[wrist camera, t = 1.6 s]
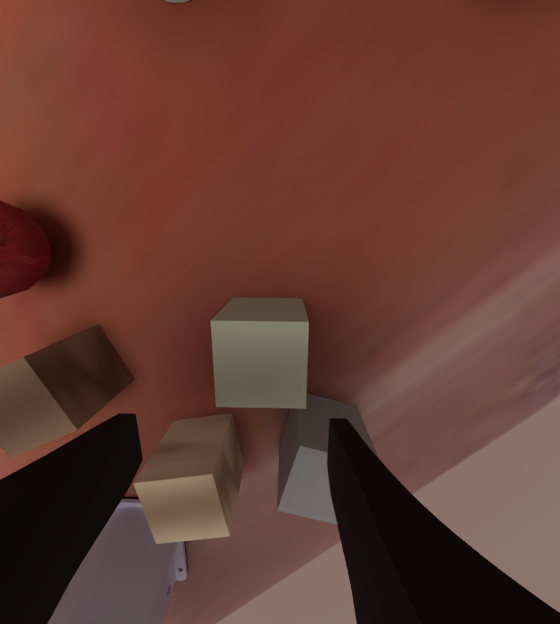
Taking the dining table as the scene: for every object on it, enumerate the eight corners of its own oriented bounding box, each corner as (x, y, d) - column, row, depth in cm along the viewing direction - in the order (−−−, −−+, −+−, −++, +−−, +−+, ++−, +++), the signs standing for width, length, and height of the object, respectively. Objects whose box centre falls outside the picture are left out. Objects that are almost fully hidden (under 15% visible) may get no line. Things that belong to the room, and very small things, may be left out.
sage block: (300, 361, 21) (306, 408, 15) (235, 360, 21) (215, 406, 15) (302, 298, 19) (308, 321, 13) (233, 297, 19) (210, 320, 14)
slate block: (336, 455, 23) (353, 529, 17) (279, 441, 22) (277, 510, 17) (356, 405, 21) (382, 466, 16) (296, 390, 21) (299, 445, 15)
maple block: (244, 462, 23) (230, 536, 17) (188, 469, 23) (156, 544, 18) (232, 412, 22) (212, 474, 16) (173, 420, 22) (133, 483, 16)
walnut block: (134, 378, 21) (77, 430, 16) (83, 401, 22) (10, 458, 16) (99, 324, 20) (23, 357, 14) (46, 349, 21) (-47, 390, 15)
